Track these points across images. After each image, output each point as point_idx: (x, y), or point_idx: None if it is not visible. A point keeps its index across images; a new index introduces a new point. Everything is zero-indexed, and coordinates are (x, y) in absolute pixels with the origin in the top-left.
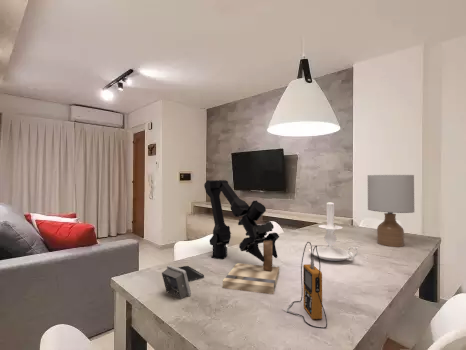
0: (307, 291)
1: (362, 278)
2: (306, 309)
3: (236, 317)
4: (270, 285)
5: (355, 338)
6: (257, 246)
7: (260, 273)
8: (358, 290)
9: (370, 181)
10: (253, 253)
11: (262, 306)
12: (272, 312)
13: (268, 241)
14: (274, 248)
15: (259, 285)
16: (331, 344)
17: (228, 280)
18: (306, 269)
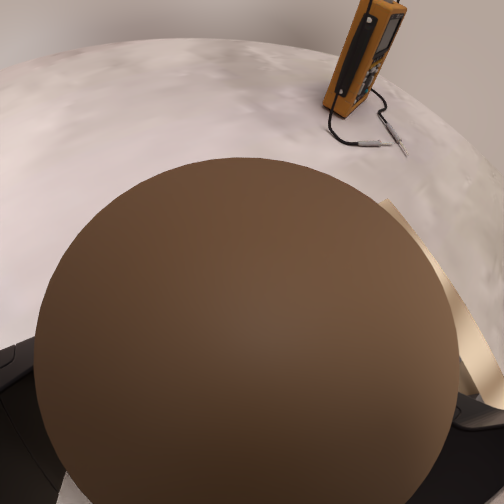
0: (375, 63)
1: (11, 101)
2: (353, 108)
3: (499, 222)
4: (391, 213)
5: None
6: (493, 421)
7: None
8: (109, 72)
9: None
10: None
11: (441, 202)
12: (430, 169)
13: (302, 286)
14: (33, 353)
15: (429, 252)
16: (385, 79)
17: (500, 387)
18: (396, 14)
